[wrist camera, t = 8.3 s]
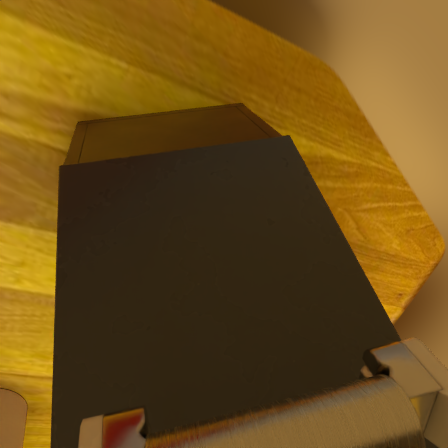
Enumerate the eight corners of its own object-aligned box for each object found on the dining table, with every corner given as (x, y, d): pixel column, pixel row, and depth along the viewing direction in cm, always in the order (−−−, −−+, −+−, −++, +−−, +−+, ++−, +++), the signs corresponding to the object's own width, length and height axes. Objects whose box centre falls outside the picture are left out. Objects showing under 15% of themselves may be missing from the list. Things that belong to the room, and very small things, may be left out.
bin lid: (474, 500, 12) (619, 483, 8) (53, 643, 10) (-62, 727, 6) (287, 145, 22) (305, 56, 18) (63, 176, 20) (25, 83, 16)
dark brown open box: (247, 269, 39) (280, 337, 31) (120, 294, 37) (121, 373, 29) (242, 103, 30) (285, 137, 23) (77, 121, 28) (62, 167, 20)
